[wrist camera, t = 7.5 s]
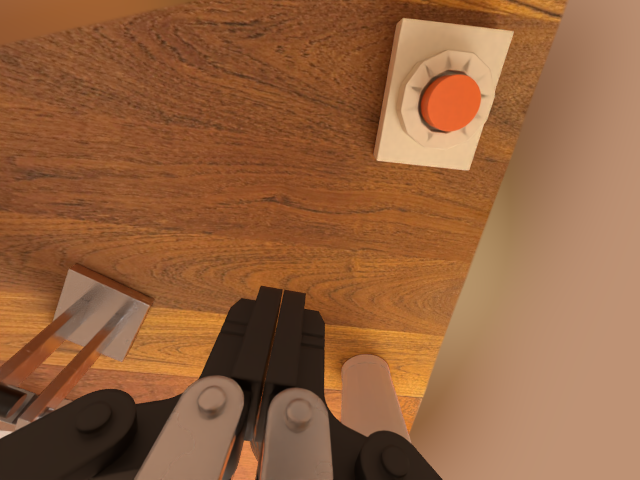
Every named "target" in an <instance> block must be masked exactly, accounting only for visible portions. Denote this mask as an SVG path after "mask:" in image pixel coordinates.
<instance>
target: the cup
mask: <svg viewBox="0 0 640 480" xmlns="http://www.w3.org/2000/svg"><path fill="white" fill-rule="evenodd" d="M341 373H342V405H341V423H342V424H344V425H345V426H347V427H349V428H351V429H353V430H355V431H357V432H359V433H361V434H363V435H365V436H367V437H368V436H369V435H370V434H372V433H374V432H376V431H381V430H386V431H391V432H395V433H397V434H399V435H401V436H402V437H404V438H405V439H406V440H408V441H409V442H410V443H411V440H410V437H409V434H408V431H407V428H406V425H405V421H404V418H403V415H402V412H401V408H400V405H399V402H398V398H397V395H396V392H395V389H394V385H393V382H392V379H391V375H390V370H389V366H388V364H387V363H386V362H385V361H384V360H383V359H382V358H380V357H378V356H375V355H369V354H363V355H357V356H354V357H352V358H350V359H349V360H347V361H346V362H345V363H344V365H343V367H342V370H341Z"/></svg>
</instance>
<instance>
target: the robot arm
mask: <svg viewBox="0 0 640 480" xmlns="http://www.w3.org/2000/svg"><path fill="white" fill-rule="evenodd" d="M282 290H283V289H277V288H272V287H266V286H261V287H260V290H259V293H258V296H257V299H256V301H255V300H249V299H243V298H241V299H240V300H239V301H238V302H237V303H235V304H234V305H233V306H232V307H231V308H230V310H229V313H228V315H227V317H226V319H225V322H224V324H223V326H222V328H221V332H220V333H219V335H218V337H217V340H216V342H215V344H214V347H213V349H212V351H211V353H210V356H209V358H208V360H207V362H206V365H205V367H204V369H203V372H202V374H201V376H200V377H199V379H198V380H197V381H195V382H194V383H192V384H191V385H190V386H189V387H188V388H187V389H186V390H185V391H184V392H183V393H182V394H180V395H177V396H175V397H172V398H169V399H165V400H160V401H153V402H147V403H140V404H135V402H134V400H133V398H132V397H131V396H130V395H129V394H128V393H126V392H124V391H121V390H117V389H104V390H99V391H95V392H92V393H89V394H87V395H84V396H82V397H80V398H78V399H76V400H74V401H72V402H70V403H68V404H66V405H65V406H63V407H61V408H59V409H57V410H55V411H53V412H51V413H49V414H47V415H45V416H43V417H41V418H39V419H37V420H35V421H33V422H31V423H30V424H28V425H26V426H24V427H22V428H20V429H18V430H16V431H14V432H12V433H10V434H8V435H6V436H4V437H2V438H0V480H233V477H234V473H235V471H236V469H237V466H238V463H239V459H240V455H241V450H242V446H243V442H244V440H245V441H252V439H253V434H254V430H255V425H256V420H257V416H258V411H259V406H260V402H261V407H260V413H259V419H258V425H257V431H256V436H255V442H261V443H262V445H261V450H260V456H259V461H258V467H257V472H256V477H255V480H442V478H441V477H440V476H439V475H438V474H437V473H436V471H435V470H434V469H433V468H432V467H431V466H430V465H429V464H428V463H427V461H426V460H425V459H424V458H423V457H422V455H421V454H420V453H419V452H418V451H417V450H416V448H415V447H414V446H413V445H412V444H411V443H410V442H409V441H408V440H406V439H405V438H404V437H402V436H401V435H399V434H397V433H395V432H391V431H386V430H381V431H376V432H374V433H372V434H370V435H369V436H368V437H367V436H365V435H363V434H361V433H359V432H357V431H355V430H353V429H351V428H349V427H347V426H345V425H344V424H342V423H341V422H340V421H338V420H337V419H336V418H335V417H334V416H333V414H332V413H331V412H330V410H329V408H328V407H327V404H326V401H325V397H324V347H325V339H324V337H325V323H324V321H323V319H322V317H321V315H320V313H319V311H314V310H308V309H304V306H305V296H306V293H301V292H295V291H289V290H284V294H283V299H282V304H281V308H280V302H281V297H282ZM279 308H280V313H279ZM278 314H279V318H278ZM277 319H278V322H277ZM276 325H277V327H276ZM275 330H276V332H275ZM272 345H273V346H272ZM271 350H272V351H271ZM269 359H270V360H269ZM268 364H269V365H268ZM265 378H266V379H265ZM264 383H265V384H264ZM263 388H264V390H263ZM262 392H263V396H262ZM261 397H262V401H261Z"/></svg>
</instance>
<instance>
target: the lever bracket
mask: <svg viewBox="0 0 640 480" xmlns="http://www.w3.org/2000/svg"><path fill="white" fill-rule="evenodd" d="M153 302H154V299H152V298H150V297H148V296H146V295H144V294H142V293H139V292H137V291H135V290H133V289H131V288H129V287H127V286H124V285H122V284H120V283H118V282H116V281H114V280H111V279H109V278H107V277H105V276H103V275H101V274H98V273H96V272H94V271H92V270H90V269H88V268H86V267H83V266H81V265H79V264H75V265H74V266H72V267H71V268H70V269H69V270H68V273H67V277H66V280H65V283H64V286H63V289H62V293H61V296H60V299H59V302H58V306H57V309H56V312H55V315H54V318H53V322H52V323H51V324H50V325H48V326H47V327H46V328H45V329H44V330H43V331H41V332H40V333H39V334H38V335H37V336H36V337H35V338H33V339H32V340H31V341H30V342H29V343H28V344H26V345H25V346H24V347H23V348H22V349H21V350H19V351H18V352H17V353H16V354H15V355H14V356H13V357H11V358H10V359H9V360H8V361H7V362H6V363H4V364H3V365H2V366H1V367H0V384H2V385H5V386H7V385H9V384H10V385H13V386H16V387H18V386H19V385H20V384H21V383H22V382H23V381H24V380H25V379H26V378H27V377H28V376H29V375H30V374H31V373H32V372H33V371H34V370H35V369H36V368H38V367H39V366H40V365H41V364H42V363H43V362H44V361H45V360H46V359H47V358H48V357H49V356H50V355H51V354H52V353H53V352H54V351H55V350H56V349H57V348H58V347H59V346H60V345H61V344H62V343H63V342H64V341H65V340H69V341H71V342H74V343H76V344H79V345H81V346H84V348H83V349H82V350H81V351H80V352H79V353H78V354H77V355H76V356H75V357H74V359H73V360H72V361H71V362H70V363H69V364H68V365H67V366H66V367H65V368H64V369H63V370H62V371H61V373H60V374H59V375H58V376H57V377H56V378H55V379H54V380H53V381H52V382H51V383H50V384H49V385H48V387H47V388H46V389H45V390H44V391H43V392H42V393H41V394H40V395H39V396H38V397H37V398H36V399H35V401H34V402H33V403H32V404H31V405H30V406H29V407H28V408H27V409H26V410H25V411H24V412H23V414H22V415H21V416H20V417H19V418H18V420H17V424H16V427H15V430H14V431H16V430H18V429H20V428H22V427H24V426H26V425H28V424H30V423H31V422H33V421H35V420H37V419H39V418H41V417H43V416H45V415H47V414H49V413H51V412H53V411H55V410H56V408H57V407H58V405H59V404H60V403H61V402H62V401H63V399H64V398H65V397H66V396H67V395H68V393H69V392H70V391H71V390H72V389H73V387H74V386H75V385H76V384H77V383H78V381H79V380H80V379H81V378H82V377H83V376H84V374H85V373H86V372H87V371H88V370H89V368H90V367H91V366H92V365H93V364H94V362H95V361H96V360H97V359H98V358H99V356H100V355H101V354H103V355H106V356H108V357H111V358H113V359H116V360H118V361H121V362H122V361H123V360H124V359H125V357H126V356H127V354H128V352H129V350H130V348H131V346H132V344H133V342H134V340H135V338H136V336H137V334H138V332H139V330H140V328H141V326H142V324H143V322H144V320H145V318H146V316H147V314H148V312H149V310H150V308H151V306H152V304H153Z"/></svg>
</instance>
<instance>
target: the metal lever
mask: <svg viewBox="0 0 640 480" xmlns="http://www.w3.org/2000/svg"><path fill="white" fill-rule="evenodd" d="M38 396H39V395H37V394H35V393H33V392H30V391H27V390H24V389H21V388H19V387H16V386H13V385H10V384H9V385H7V386H5V385H2V384H0V421H2V422H5V423H8V424H12V425H16V424H17V420H18V418H19V417H20V416H21V415H22V414H23V412H24V411H25V410H26V409H27V408H28V407H29V406H30V405H31V404H32V403H33V402H34V401H35V399H36V398H37V397H38Z"/></svg>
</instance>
